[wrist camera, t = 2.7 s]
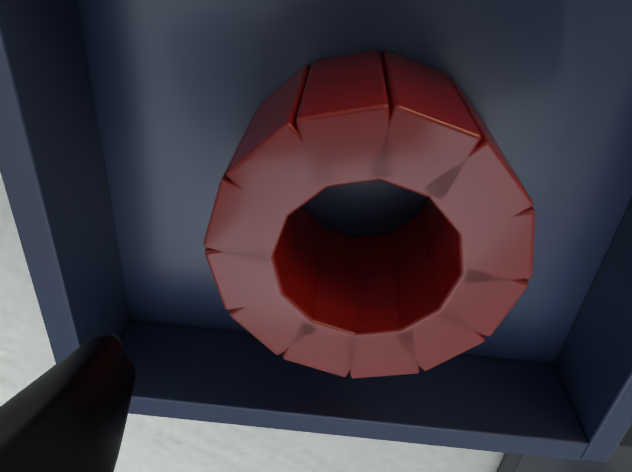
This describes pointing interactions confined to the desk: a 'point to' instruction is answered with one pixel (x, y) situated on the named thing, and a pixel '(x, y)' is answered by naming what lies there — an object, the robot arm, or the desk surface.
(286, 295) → the ring
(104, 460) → the robot arm
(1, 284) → the desk surface
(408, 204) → the box
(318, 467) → the desk surface
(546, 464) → the ring stand
